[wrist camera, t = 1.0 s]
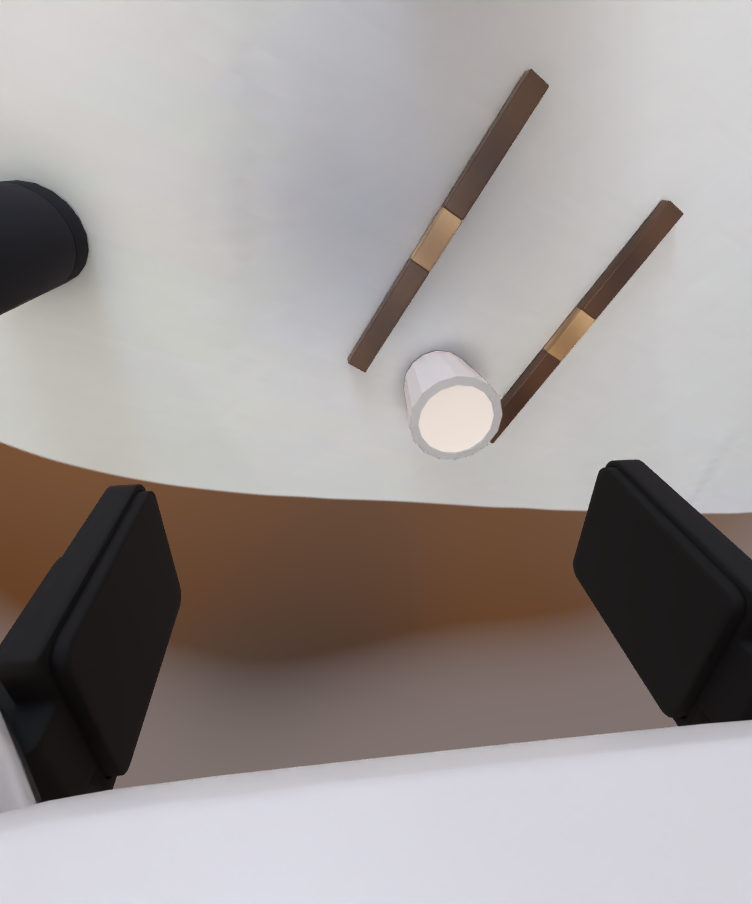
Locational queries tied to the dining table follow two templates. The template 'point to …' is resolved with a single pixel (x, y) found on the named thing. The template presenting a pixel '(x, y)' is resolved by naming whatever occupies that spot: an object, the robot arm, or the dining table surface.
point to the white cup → (450, 406)
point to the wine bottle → (36, 243)
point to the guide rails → (451, 218)
